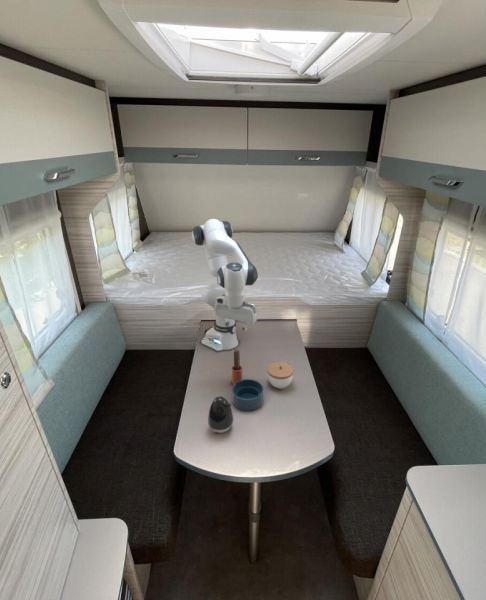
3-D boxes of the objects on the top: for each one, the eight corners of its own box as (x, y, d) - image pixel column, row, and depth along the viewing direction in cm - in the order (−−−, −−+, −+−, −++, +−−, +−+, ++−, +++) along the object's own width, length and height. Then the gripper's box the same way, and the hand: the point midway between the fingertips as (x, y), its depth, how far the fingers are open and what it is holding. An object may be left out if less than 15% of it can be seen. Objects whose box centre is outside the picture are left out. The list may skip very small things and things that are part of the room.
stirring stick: (234, 382, 160) (233, 351, 153) (236, 380, 162) (235, 349, 155) (238, 384, 159) (237, 352, 152) (240, 381, 161) (239, 350, 154)
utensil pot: (230, 384, 160) (229, 369, 157) (235, 378, 164) (235, 363, 161) (239, 387, 158) (238, 372, 154) (244, 381, 162) (244, 366, 158)
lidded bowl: (278, 373, 168) (279, 355, 164) (298, 384, 160) (299, 365, 156) (261, 384, 160) (262, 365, 156) (281, 396, 152) (281, 377, 148)
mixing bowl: (226, 405, 146) (225, 393, 144) (242, 387, 158) (242, 375, 155) (254, 416, 140) (254, 403, 138) (268, 396, 152) (268, 384, 149)
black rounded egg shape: (223, 441, 128) (222, 410, 122) (203, 430, 133) (201, 400, 127) (238, 424, 136) (237, 395, 130) (218, 415, 141) (217, 386, 135)
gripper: (259, 301, 141) (259, 329, 147) (220, 293, 150) (221, 320, 156) (252, 307, 136) (252, 336, 142) (212, 298, 145) (213, 325, 150)
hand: (235, 327), depth 149 cm, fingers open, 8 cm apart
